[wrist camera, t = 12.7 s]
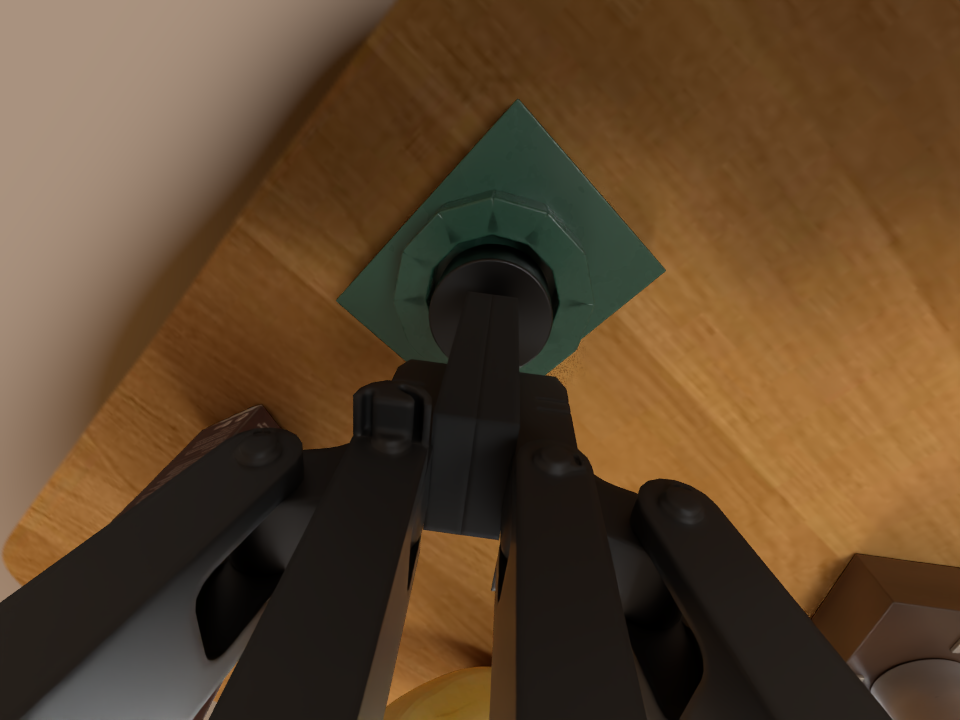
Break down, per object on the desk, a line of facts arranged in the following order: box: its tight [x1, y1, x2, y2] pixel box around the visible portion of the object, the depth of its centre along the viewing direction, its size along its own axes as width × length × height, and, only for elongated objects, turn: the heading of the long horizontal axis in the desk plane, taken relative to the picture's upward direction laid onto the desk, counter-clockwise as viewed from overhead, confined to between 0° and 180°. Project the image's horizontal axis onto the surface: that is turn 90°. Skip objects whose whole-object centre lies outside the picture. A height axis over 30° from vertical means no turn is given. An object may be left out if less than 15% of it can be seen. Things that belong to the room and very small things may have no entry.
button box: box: [336, 99, 666, 375], centre depth 19 cm, size 10×8×4 cm
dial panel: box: [811, 554, 960, 692], centre depth 27 cm, size 12×9×3 cm
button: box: [429, 244, 553, 368], centre depth 16 cm, size 4×4×2 cm
